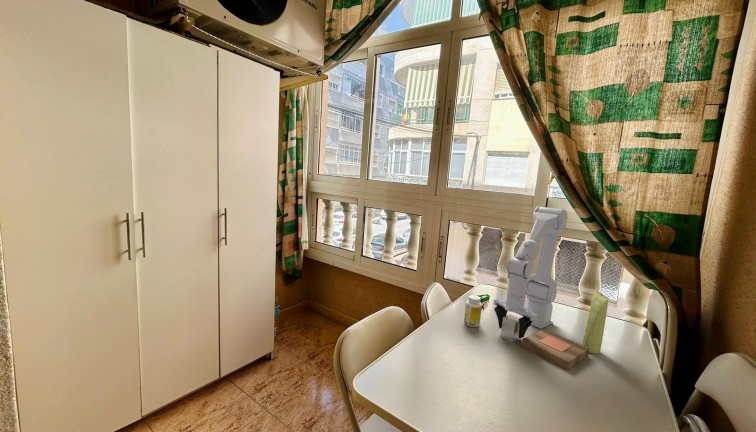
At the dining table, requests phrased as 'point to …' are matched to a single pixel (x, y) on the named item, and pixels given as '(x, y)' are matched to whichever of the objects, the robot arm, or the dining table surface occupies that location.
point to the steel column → (510, 328)
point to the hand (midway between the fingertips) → (511, 332)
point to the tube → (596, 323)
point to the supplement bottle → (473, 311)
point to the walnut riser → (555, 348)
